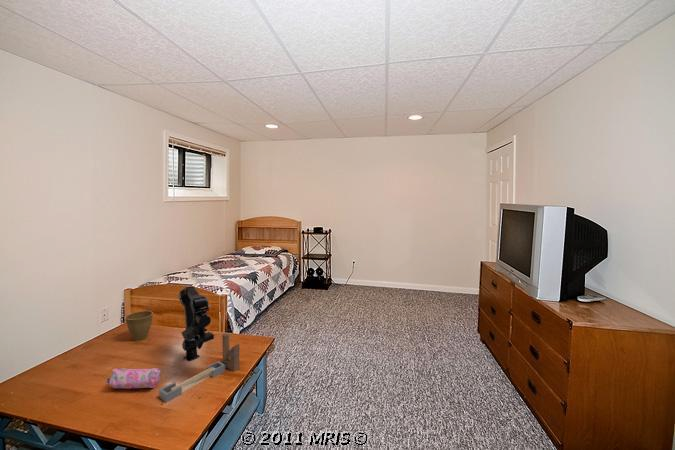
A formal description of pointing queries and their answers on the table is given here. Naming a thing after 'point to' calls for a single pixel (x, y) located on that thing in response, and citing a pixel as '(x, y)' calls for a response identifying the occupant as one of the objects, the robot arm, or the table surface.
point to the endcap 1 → (169, 392)
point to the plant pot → (139, 324)
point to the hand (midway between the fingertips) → (199, 348)
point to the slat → (195, 379)
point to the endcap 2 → (217, 368)
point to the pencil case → (134, 378)
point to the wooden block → (230, 354)
